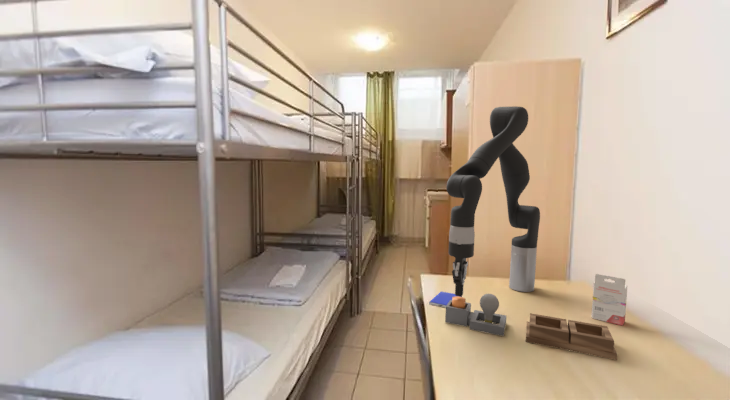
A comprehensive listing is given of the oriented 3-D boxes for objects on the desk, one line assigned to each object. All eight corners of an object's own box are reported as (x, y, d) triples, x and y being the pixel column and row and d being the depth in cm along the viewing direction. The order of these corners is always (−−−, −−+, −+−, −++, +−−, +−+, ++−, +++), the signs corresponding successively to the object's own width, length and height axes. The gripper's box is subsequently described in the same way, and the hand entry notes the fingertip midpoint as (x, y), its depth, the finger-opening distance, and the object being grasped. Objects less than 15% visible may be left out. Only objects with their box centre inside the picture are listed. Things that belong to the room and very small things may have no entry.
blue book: (440, 291, 137) (429, 301, 126) (462, 295, 133) (452, 306, 122) (440, 295, 137) (428, 305, 126) (461, 299, 133) (451, 310, 122)
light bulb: (499, 331, 106) (500, 298, 105) (479, 329, 107) (481, 296, 106) (496, 323, 111) (497, 291, 111) (477, 321, 113) (479, 290, 112)
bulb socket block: (450, 313, 119) (451, 298, 118) (506, 323, 112) (506, 307, 111) (444, 324, 110) (444, 308, 110) (503, 336, 103) (504, 319, 103)
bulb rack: (526, 326, 110) (527, 311, 110) (608, 341, 101) (610, 325, 101) (525, 341, 100) (526, 326, 100) (616, 360, 91) (618, 342, 91)
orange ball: (453, 306, 115) (453, 295, 115) (466, 308, 114) (466, 297, 113) (450, 310, 112) (451, 299, 112) (463, 313, 110) (464, 301, 110)
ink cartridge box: (625, 321, 115) (629, 276, 113) (622, 326, 111) (626, 279, 110) (593, 313, 121) (597, 270, 119) (590, 318, 117) (594, 273, 116)
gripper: (453, 235, 118) (451, 287, 120) (444, 242, 106) (442, 300, 108) (477, 238, 115) (474, 291, 117) (470, 245, 103) (467, 304, 105)
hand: (459, 295), depth 112 cm, fingers closed
